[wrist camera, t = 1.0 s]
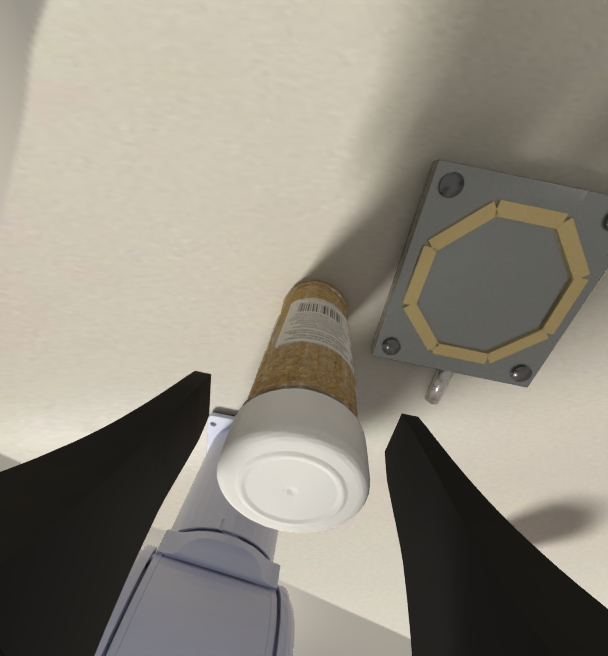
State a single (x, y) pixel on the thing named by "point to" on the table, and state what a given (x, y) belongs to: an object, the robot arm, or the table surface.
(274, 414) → the sprinkles bottle
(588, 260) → the octagon fixture plate
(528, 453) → the table surface
